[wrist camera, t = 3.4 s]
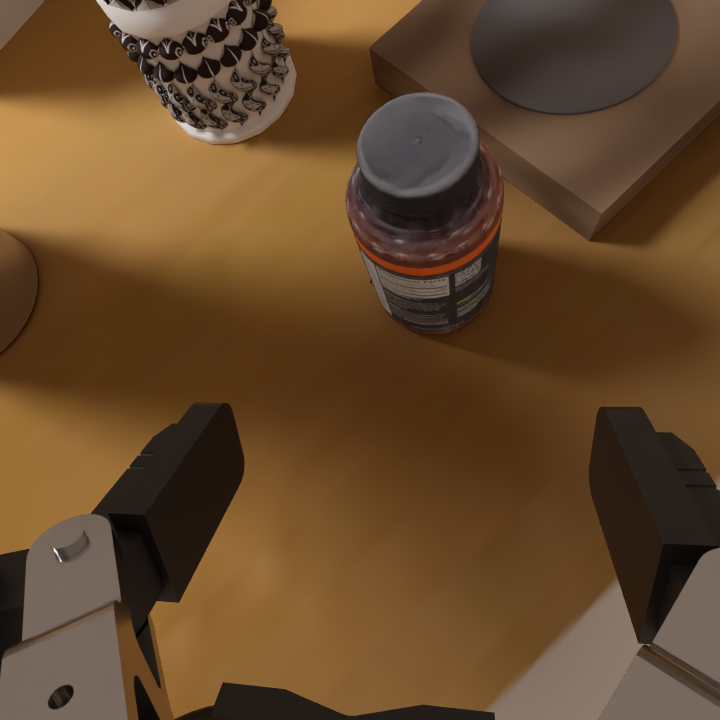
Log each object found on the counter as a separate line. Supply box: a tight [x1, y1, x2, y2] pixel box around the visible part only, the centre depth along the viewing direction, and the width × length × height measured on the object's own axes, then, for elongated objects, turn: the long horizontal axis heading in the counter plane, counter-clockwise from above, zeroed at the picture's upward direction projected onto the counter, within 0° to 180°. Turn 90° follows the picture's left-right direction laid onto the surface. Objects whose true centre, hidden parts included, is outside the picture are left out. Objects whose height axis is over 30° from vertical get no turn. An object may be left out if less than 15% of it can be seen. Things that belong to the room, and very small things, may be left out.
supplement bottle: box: [346, 92, 504, 335], centre depth 22 cm, size 6×6×11 cm
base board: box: [369, 0, 720, 240], centre depth 28 cm, size 16×14×3 cm
